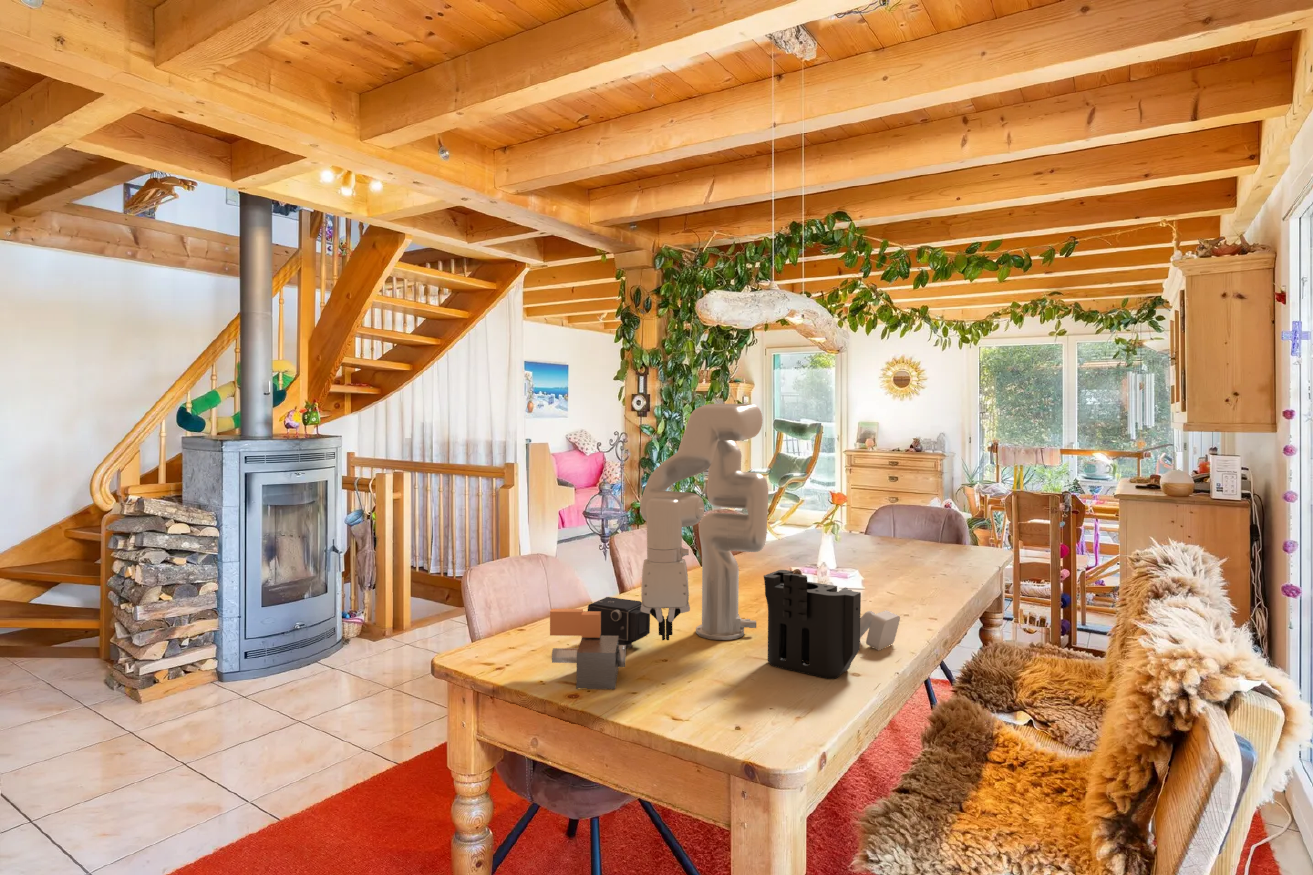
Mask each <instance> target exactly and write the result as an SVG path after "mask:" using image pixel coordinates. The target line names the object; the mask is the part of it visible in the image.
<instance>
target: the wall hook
mask: <svg viewBox="0 0 1313 875" xmlns="http://www.w3.org/2000/svg"><path fill="white" fill-rule="evenodd" d="M900 620H901V617H900V615H898V614H896V613H893V612H891V611H889V610H887V609H885V610H883V611H880V612H877V613H875V612H874V611H872V610H868V611H866V612H865V613H863V615H862V616H860V639H861V638H862V637H863V635H865V633H866V632H867V636H866V640H865V643H866V645H867V646H869V647H871V648H873V649H875V650H876V651H879V650H880V651H882V650H884V649H883V648H885V647H887V646H889V645H891V644H892V645H893V644H894V642H895V640H896V636H897V632H898V630H899V629H898V628H899V625H900V624H899V623H900ZM892 645H891V646H892ZM889 647H890V646H889ZM887 648H888V647H887ZM881 649H882V650H881ZM885 649H886V648H885Z"/></svg>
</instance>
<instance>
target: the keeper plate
mask: <svg viewBox="0 0 1313 875" xmlns="http://www.w3.org/2000/svg"><path fill="white" fill-rule="evenodd" d="M600 635H601V611H588V610H587V611H584V610H583V608H551V609H550V611H549V636H555V637H556V636H560V637H562V636H565V637H567V636H569V637H570V636H571V637H572V636H573V637H575V636H576V637H579V636H580V637H581V638H582V637H585V638H600Z"/></svg>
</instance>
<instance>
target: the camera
mask: <svg viewBox="0 0 1313 875" xmlns="http://www.w3.org/2000/svg"><path fill="white" fill-rule="evenodd" d="M641 604H642V600H641V601H640V600H632V599H628V598H627V599H626V598H620V597H612V596H606V597H603V598H602V599H599V600H597V601H594V602H592V603H589V604H588V606H587V611H601V635H600V636H619V645H626V649H628V648H632V646H633V643H635V642H637V641H639V640H641V639H643V638H645V637H647V636H648V635H649V634H650V633H651V631H650V630H651V614H648V613H644V612H641V610H640V609H641Z"/></svg>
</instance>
